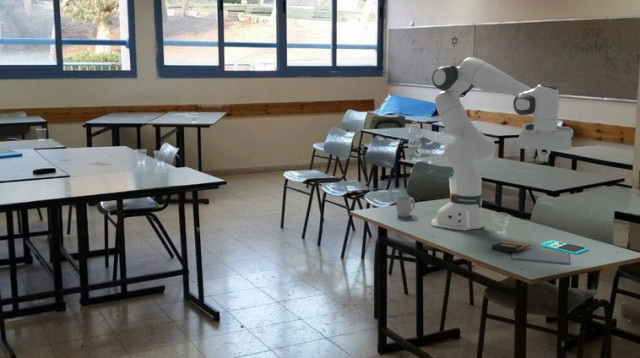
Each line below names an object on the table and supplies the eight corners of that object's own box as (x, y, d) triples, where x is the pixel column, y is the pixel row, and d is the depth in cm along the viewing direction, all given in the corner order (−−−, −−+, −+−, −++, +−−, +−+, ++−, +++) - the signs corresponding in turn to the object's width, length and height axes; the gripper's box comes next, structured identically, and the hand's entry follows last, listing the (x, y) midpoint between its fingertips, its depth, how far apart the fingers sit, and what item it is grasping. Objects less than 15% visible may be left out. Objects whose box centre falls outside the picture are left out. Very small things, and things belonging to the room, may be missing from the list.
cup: (392, 215, 316) (392, 197, 315) (408, 212, 321) (409, 195, 320) (402, 218, 310) (402, 200, 308) (419, 215, 315) (419, 197, 313)
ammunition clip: (491, 244, 261) (508, 239, 269) (491, 249, 262) (509, 244, 269) (515, 247, 253) (533, 242, 261) (516, 252, 254) (533, 247, 261)
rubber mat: (512, 259, 249) (512, 257, 249) (513, 249, 262) (513, 247, 262) (569, 264, 243) (569, 263, 243) (568, 253, 256) (568, 252, 256)
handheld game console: (551, 242, 274) (551, 239, 273) (589, 251, 262) (589, 247, 262) (538, 247, 267) (538, 243, 267) (577, 256, 255) (577, 252, 255)
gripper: (573, 125, 265) (570, 160, 267) (519, 124, 271) (517, 158, 274) (574, 127, 259) (571, 163, 262) (518, 125, 265) (516, 160, 268)
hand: (543, 160), depth 268 cm, fingers closed
